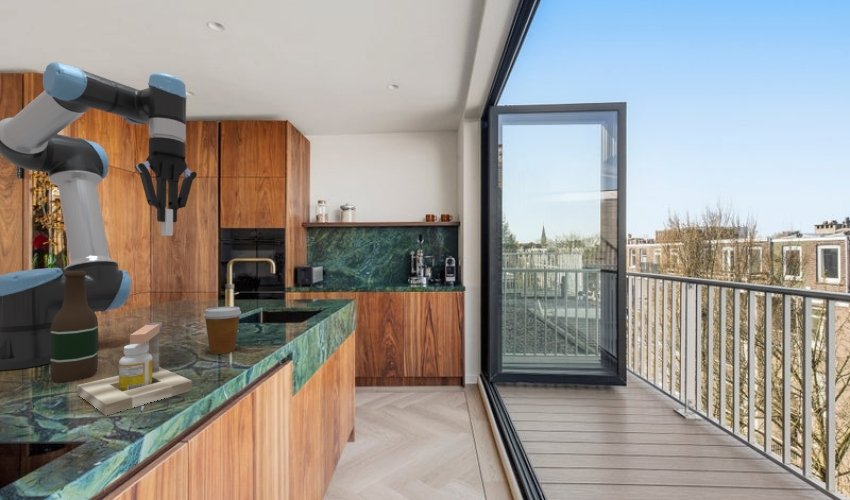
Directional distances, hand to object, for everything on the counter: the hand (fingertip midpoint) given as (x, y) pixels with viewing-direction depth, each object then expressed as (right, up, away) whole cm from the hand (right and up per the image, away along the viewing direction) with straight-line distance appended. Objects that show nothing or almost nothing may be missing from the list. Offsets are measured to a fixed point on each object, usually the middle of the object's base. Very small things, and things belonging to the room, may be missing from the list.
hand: (166, 235), depth 92 cm
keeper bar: (+6, -22, -14) cm, 27 cm away
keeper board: (+5, -33, -17) cm, 37 cm away
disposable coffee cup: (+6, -33, +14) cm, 36 cm away
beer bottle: (-15, -33, -8) cm, 37 cm away
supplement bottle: (+5, -33, -17) cm, 37 cm away
